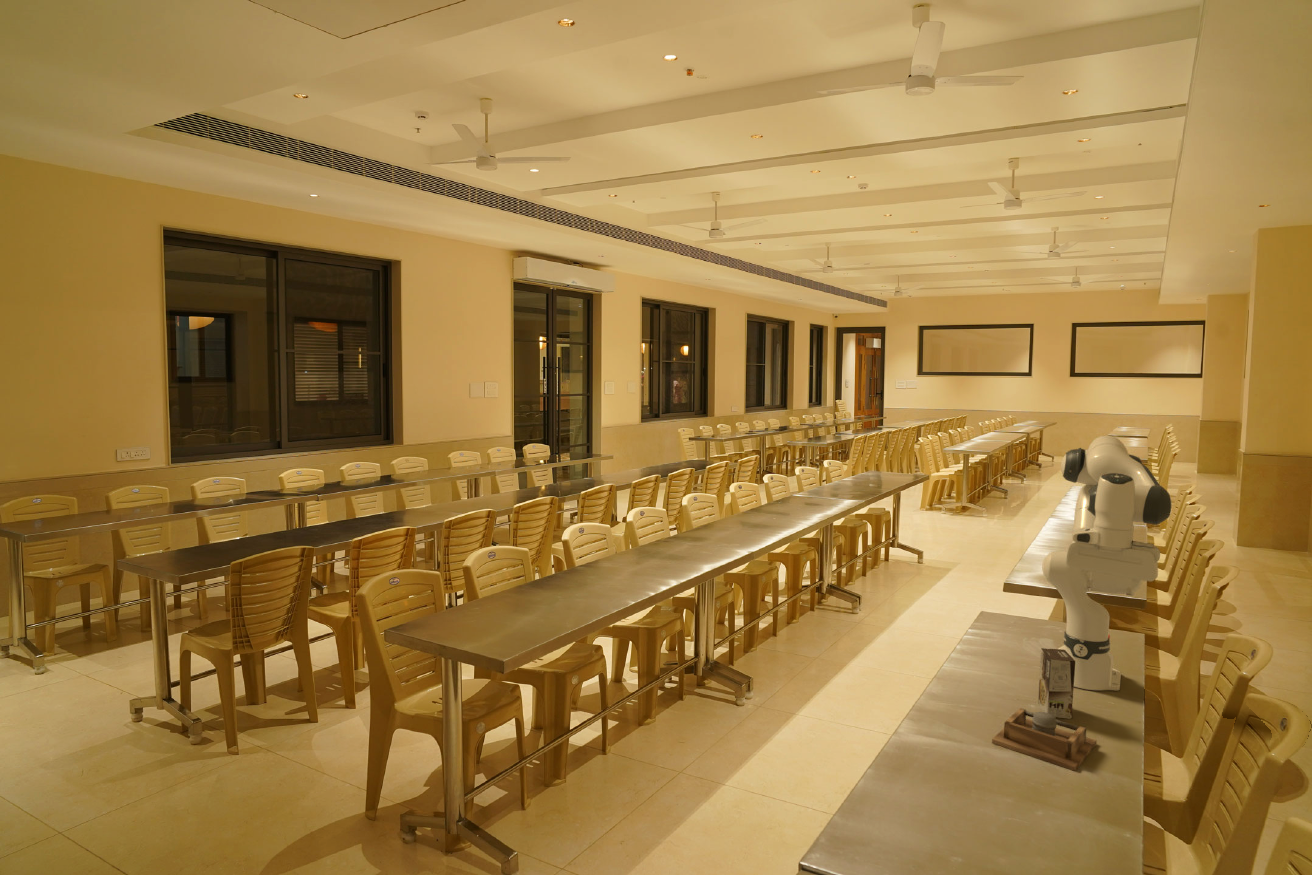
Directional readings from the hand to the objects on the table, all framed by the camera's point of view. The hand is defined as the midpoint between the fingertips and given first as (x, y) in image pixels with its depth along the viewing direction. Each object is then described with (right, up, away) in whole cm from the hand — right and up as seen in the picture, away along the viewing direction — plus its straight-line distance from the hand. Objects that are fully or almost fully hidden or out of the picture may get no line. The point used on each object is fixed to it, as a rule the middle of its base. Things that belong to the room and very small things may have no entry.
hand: (1108, 591), depth 197 cm
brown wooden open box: (-19, -37, -4) cm, 42 cm away
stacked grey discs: (-19, -36, -4) cm, 41 cm away
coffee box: (-6, -36, +15) cm, 39 cm away
